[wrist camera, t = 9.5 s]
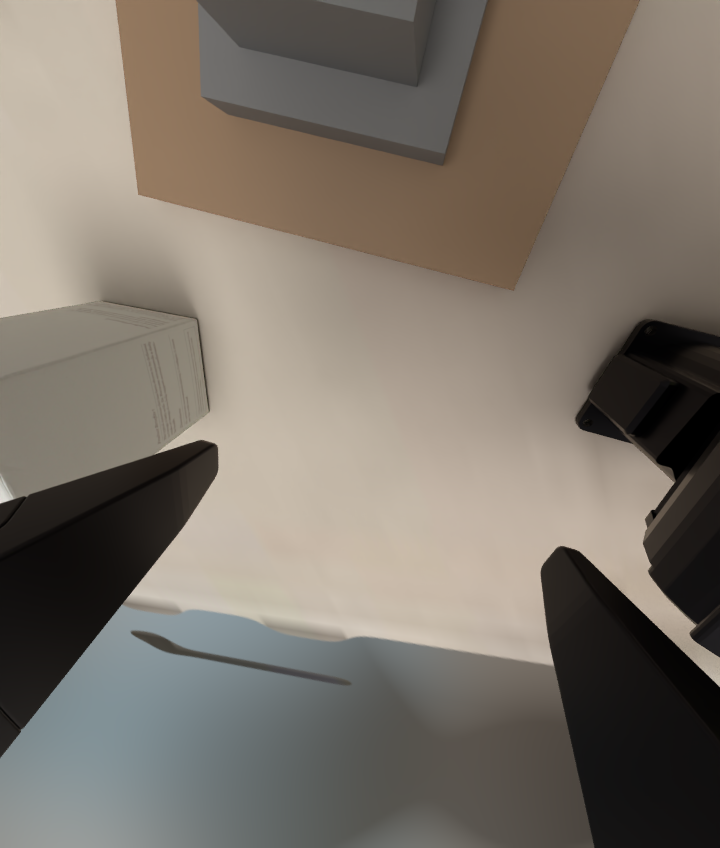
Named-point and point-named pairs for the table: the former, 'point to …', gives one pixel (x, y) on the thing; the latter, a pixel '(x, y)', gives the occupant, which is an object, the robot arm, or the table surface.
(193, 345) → the supplement box
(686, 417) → the robot arm
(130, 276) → the table surface
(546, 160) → the tan base plate
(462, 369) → the table surface
